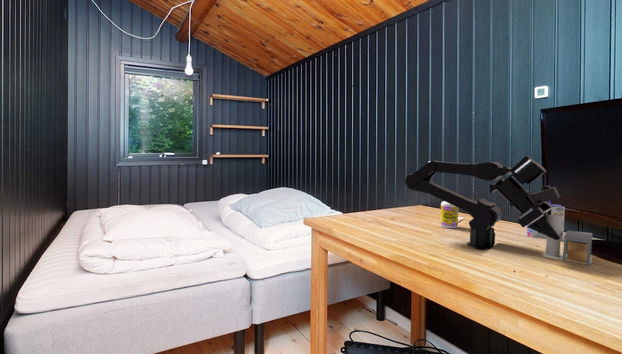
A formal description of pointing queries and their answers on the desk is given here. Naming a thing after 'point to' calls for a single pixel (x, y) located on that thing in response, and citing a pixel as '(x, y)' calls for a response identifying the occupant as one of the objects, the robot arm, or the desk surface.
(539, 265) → the desk surface
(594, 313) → the desk surface
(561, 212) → the ink cartridge box
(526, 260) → the desk surface
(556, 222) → the silver l-shaped stand
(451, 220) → the supplement bottle
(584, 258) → the block
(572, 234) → the tunnel
